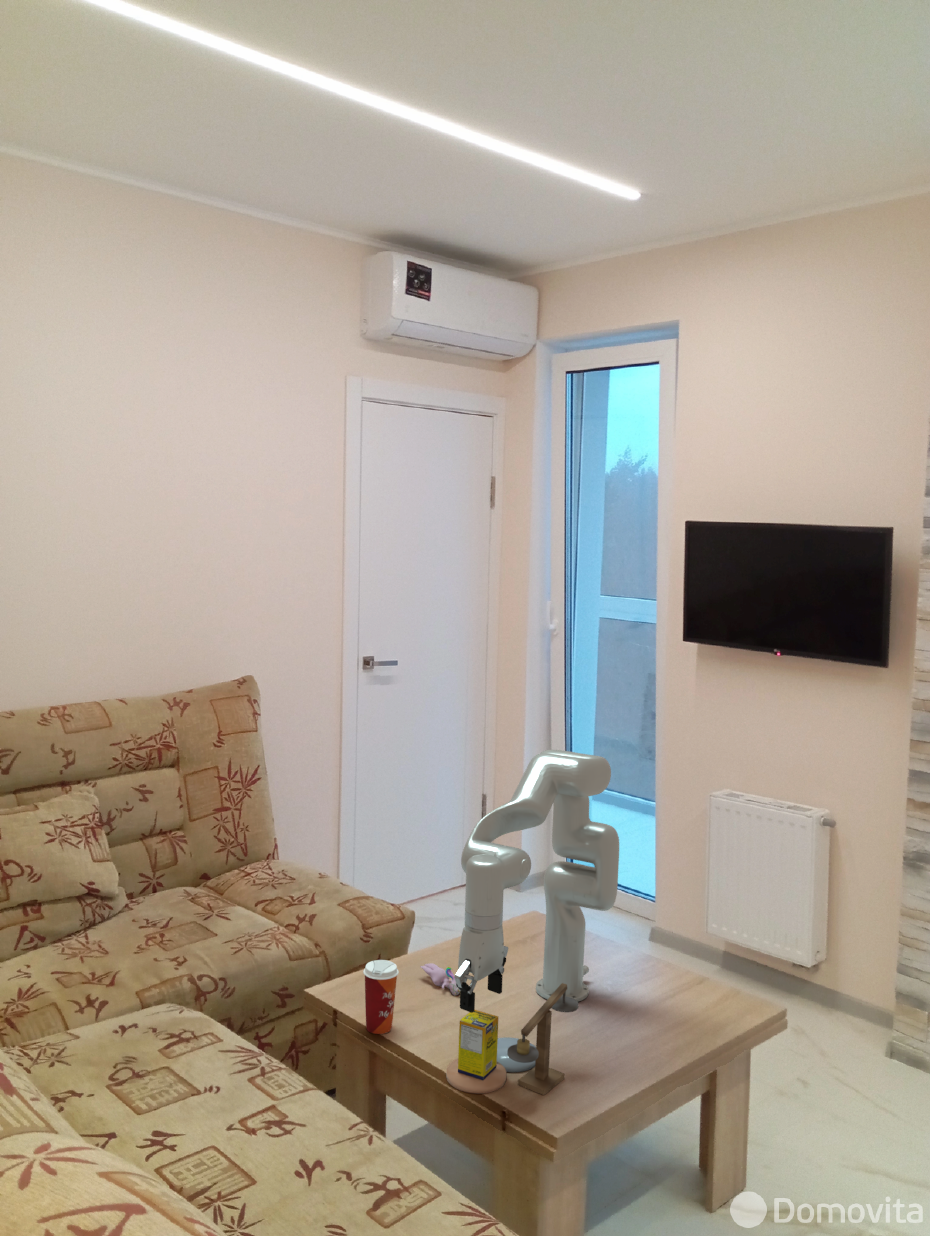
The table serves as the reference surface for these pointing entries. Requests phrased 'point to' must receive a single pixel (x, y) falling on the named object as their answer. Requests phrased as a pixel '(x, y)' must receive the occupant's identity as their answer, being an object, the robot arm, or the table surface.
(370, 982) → the paper cup
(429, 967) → the lilac plush figure
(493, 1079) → the peach flat disc
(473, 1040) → the supplement box
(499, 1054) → the blue-grey flat disc
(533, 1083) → the balance
